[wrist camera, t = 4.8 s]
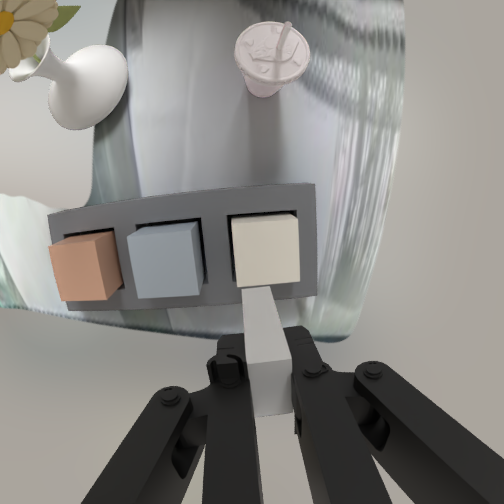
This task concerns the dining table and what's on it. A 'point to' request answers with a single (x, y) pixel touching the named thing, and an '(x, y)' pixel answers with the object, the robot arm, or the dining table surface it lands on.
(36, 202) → the dining table surface
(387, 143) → the dining table surface
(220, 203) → the console
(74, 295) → the key terracotta
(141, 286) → the key slate
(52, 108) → the flower in vase
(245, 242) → the key cream
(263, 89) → the smoothie
